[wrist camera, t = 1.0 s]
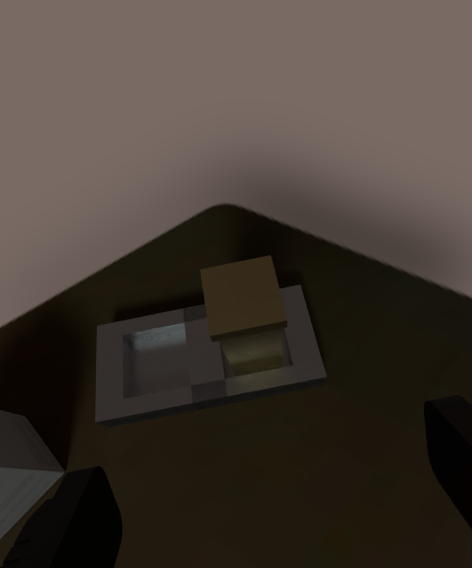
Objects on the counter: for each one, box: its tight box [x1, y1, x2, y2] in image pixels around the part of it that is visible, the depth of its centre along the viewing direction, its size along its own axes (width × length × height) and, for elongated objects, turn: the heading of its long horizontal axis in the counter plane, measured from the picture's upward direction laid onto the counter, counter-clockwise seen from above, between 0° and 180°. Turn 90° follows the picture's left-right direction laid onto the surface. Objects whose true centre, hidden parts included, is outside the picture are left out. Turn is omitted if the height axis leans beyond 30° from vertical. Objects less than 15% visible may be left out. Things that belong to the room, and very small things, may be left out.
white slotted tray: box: [95, 285, 327, 427], centre depth 36 cm, size 20×9×3 cm, turn 100°
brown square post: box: [200, 255, 287, 375], centre depth 31 cm, size 5×5×11 cm
